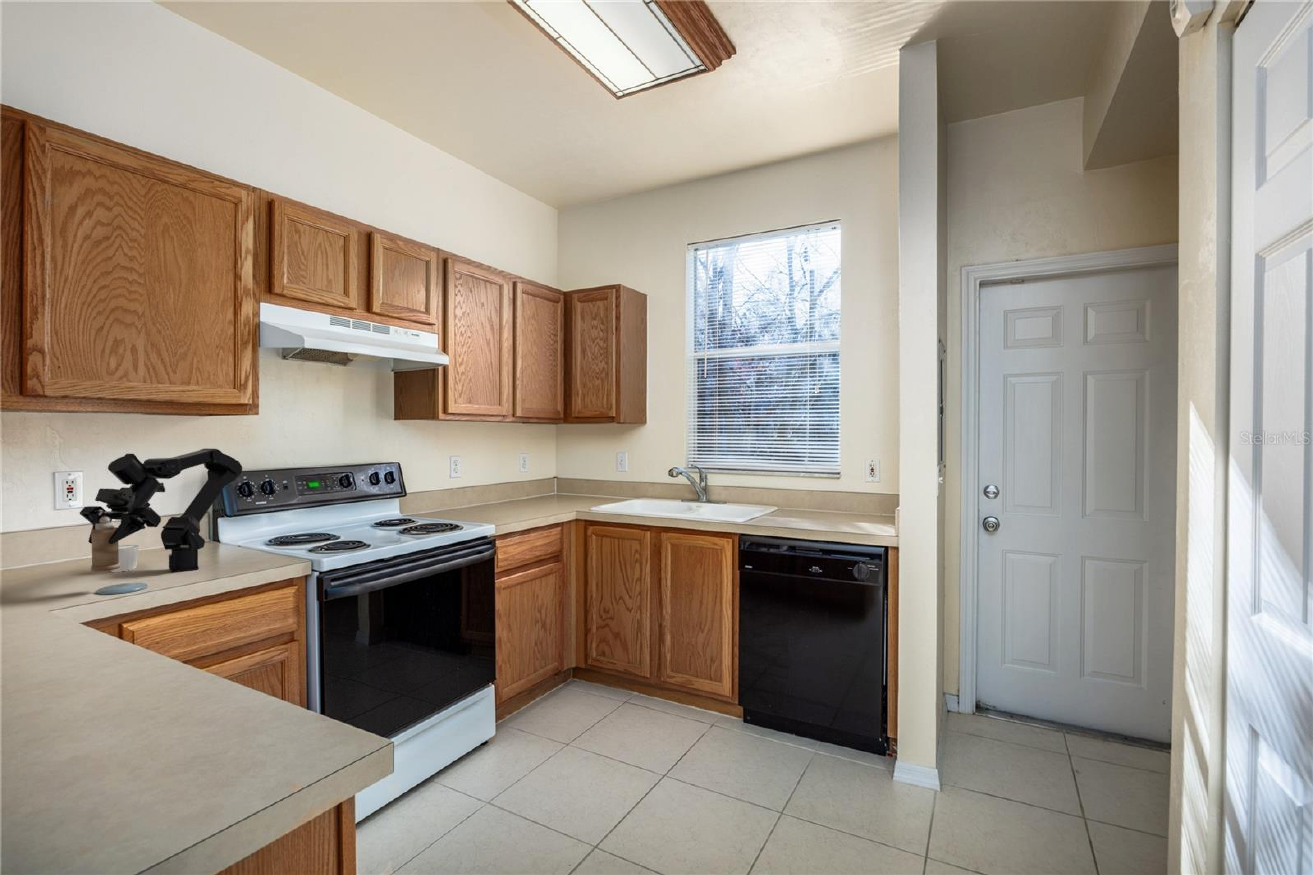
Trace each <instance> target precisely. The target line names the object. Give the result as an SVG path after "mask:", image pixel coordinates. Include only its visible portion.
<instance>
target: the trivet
mask: <svg viewBox="0 0 1313 875" xmlns="http://www.w3.org/2000/svg"><path fill="white" fill-rule="evenodd" d="M146 588H148V583H146V582H127V583H117V584H112V585H108V586H107V585H106V586H103V587H100V588H99V589H96V590H97V591H96V593H97V595H101V596H102V595H103V596H104V595H105V596H107V595H108V596H109V595H111V596H112V595H121V594H122V595H123V594H129V593H130V594H131V593H134V592H139V591H142V590H145V589H146Z"/></svg>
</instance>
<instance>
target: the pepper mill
mask: <svg viewBox="0 0 1313 875" xmlns="http://www.w3.org/2000/svg"><path fill="white" fill-rule="evenodd" d="M109 521H110V519H109V518H108V517H106V516H104V517H102V518H100V523H97V524H95V527H96V529H93V530H92V529H91V531H90V534H91V536H92V544H91V566H90V571H91V572H108V571H111V570H115V569H118V568H120V563H119V550H118V546H119V541H117V542H116V543H114V544H110V543H109V540H110V538H111V536H112V535H113V533H114V532H115V531H116V529H117V528H118V526H117V527H115V522H113V521H111V522H109Z"/></svg>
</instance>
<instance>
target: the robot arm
mask: <svg viewBox="0 0 1313 875" xmlns="http://www.w3.org/2000/svg"><path fill="white" fill-rule="evenodd" d="M201 465H203V466H204V468H205V469H207V471H206V473H207V480H206V482H205V483H204V484H203V485H202V487H201V489H200V490H199V491H198V493H197V494H196V496H195V497H194V498H193V500H192V501H191V502H190V503H189V505H188V506H187V508H186V509H185V510H184V512H183V513H182V514H181V515H180V516H170V518H169V519H168V521H167V522H166V523H165V525H163V526H162V530H161V532H160V539H161V542H162V544H163V547H164V550H165V551H168V550H170V551H171V552H170V553H169V554H168V569H169V570H170V572H171V573H174V572H183V571H194V570H199V568H200V567H199V550H201V549H202V548H204V547H205V543H206V539H204V538H203V537H202V536H201V535H200V532H201V525H200V523H201V521H202V519H203V518H204V517H205V515H206V514H207V513H208V511H209V510H210V507H211V506H212V505H213V504H214V502H215V501H216V500H217V498H218V496H219V495H220V494H221V492H222V491H223V489H224V488H225V487H226V486H228V485H230V484H233V483H234V482H235V481H236V480H237V479H238V478H239V477H240V476H241V474H242V473H243V466H242V464H241V462H240V461H239V460H237V459H236V458H234V457H232V456H230V455H227V454H226V453H223V452H222V451H221V450H220V449H218V448H206V447H205V448H202V449H199V450H196V451H192V452H189V453H184V454H180V455H176V456H173V457H157V458H156V457H155V458H148V459H145V460H144V461H143V463H142V462H141V461H140V460H139V459H138V457H137V455H135V453H125V455H123V456H120V457H119V458H116V459H115V460H113V461H111V462H110V463H109V465H108V466H107V470H108V471H109V472H110V473H111V474H113V476H114V477H115V478H116V479H118V481H120V482H121V484H123V485H128V486H129V485H130V486H129V487H124V486H122V487H120V488H118V489H117V488H116V489H115V488H99V489H98V492H97V494H96V496H95V499H94V501H96V502H101V503H103V504H106V505H105V507H106V508H107V509H109V511H107V510H106V509H104V507H102V506H100V505H99V506H98V505H87V506H84V507H83V508H82V509H81V510H80V511H79V515H80V516H82V517H83V518H84V519H85V520H86V521H88V523H90V524H91V525H92V527H91V530H93V529H96V527H95V524H97V523H100V518H102V517H104V516H106V517H108V518H109V519H110V521H109V522H113V520H116V521H120V523H119V525H118V526H117V529H116V531H115V532H114V533H113V535H112V536H111V538H110V540H109V543H110V544H114V543H116V542H117V541H118V542H119V541H121V540H123V539H125V538H126V537H129V536H131V535H132V534H135V533H137V532H139V531H141V530H145V529H146V527H148V528H157V527H158V526H159V525H160V524H161V522H162V518H161V516H160V515H159V514H158V513H157V512H156V511H155V510H154V509H153V508H152V507H151V503H149V501H151V499H152V497H154V495H155V494H156V493H165V492H166V487H165V485H164V482H160V481H159V480H169V479H172V478H174V477H176V476H178V475H180V474H181V472H182V471H184V470H187V469H190V468H194V467H197V466H201ZM145 525H146V526H145ZM87 542H88V543H89V544H90V545H92V536H91V533H90V534H89V537H88V541H87Z"/></svg>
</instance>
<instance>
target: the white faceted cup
mask: <svg viewBox="0 0 1313 875" xmlns="http://www.w3.org/2000/svg"><path fill="white" fill-rule="evenodd" d="M139 548H140V546H139V545H138V544H137V545H136V544H124V545H118V550H119V563H120V568H118V569H115V570H110V571H111V573H123V572H122V571H125V572H129V571H128V570H131V571H133V570H132V569H135V568H136V569H137V563H138V555H139ZM136 569H135V570H136Z"/></svg>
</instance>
